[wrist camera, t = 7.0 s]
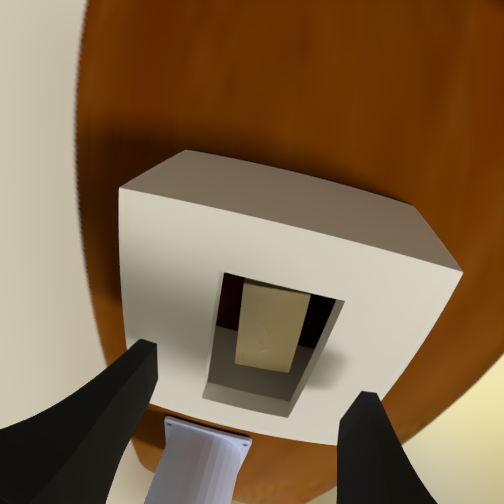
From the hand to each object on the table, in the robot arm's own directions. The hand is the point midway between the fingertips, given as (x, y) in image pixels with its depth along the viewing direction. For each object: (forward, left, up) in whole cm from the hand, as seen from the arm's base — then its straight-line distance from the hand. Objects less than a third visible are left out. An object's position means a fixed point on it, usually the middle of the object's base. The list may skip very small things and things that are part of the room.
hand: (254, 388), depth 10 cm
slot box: (0, 0, -7) cm, 7 cm away
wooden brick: (0, 0, -7) cm, 7 cm away
